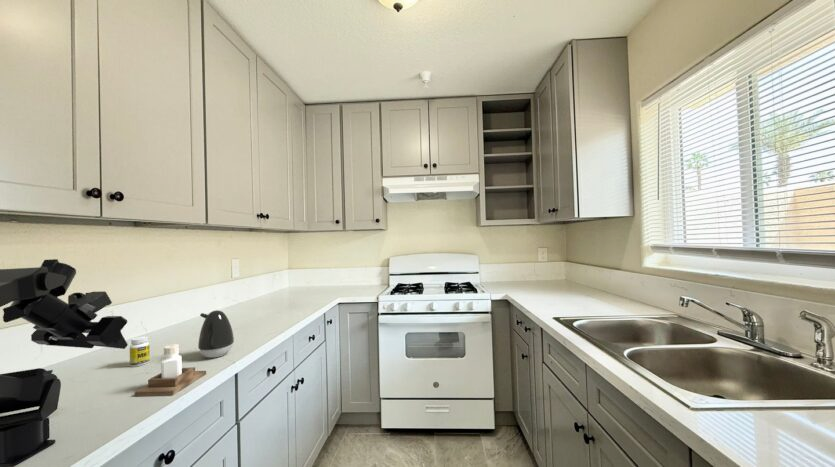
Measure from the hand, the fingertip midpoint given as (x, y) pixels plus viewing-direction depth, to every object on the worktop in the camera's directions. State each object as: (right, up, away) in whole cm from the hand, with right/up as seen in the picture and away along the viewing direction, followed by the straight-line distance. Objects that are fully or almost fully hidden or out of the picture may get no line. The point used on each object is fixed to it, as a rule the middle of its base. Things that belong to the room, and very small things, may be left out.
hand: (109, 346), depth 76 cm
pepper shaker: (+9, -13, +8) cm, 18 cm away
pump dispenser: (+7, -14, +29) cm, 33 cm away
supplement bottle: (-14, -14, +24) cm, 31 cm away
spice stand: (+9, -13, +8) cm, 18 cm away
